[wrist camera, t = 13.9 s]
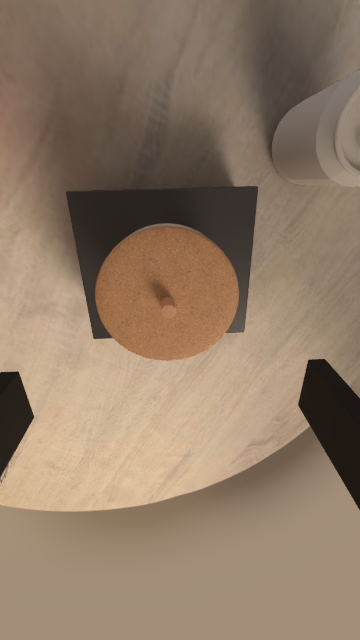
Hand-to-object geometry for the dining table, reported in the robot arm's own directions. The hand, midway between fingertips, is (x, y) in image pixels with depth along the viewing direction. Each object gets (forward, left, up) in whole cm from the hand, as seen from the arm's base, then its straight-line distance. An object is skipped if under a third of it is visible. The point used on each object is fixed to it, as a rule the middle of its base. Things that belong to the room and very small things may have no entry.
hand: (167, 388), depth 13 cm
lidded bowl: (0, -1, -17) cm, 17 cm away
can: (-15, -12, -24) cm, 30 cm away
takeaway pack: (0, -1, -24) cm, 24 cm away
